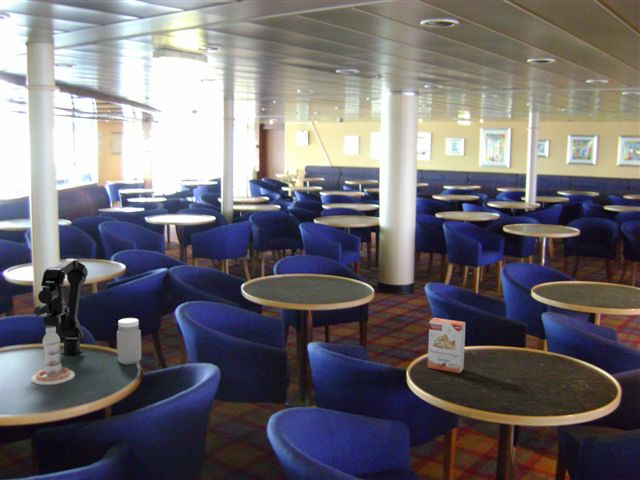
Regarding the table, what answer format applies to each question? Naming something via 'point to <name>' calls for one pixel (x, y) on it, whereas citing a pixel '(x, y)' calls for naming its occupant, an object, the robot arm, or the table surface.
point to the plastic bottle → (52, 352)
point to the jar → (129, 341)
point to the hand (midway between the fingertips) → (57, 334)
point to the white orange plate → (46, 380)
